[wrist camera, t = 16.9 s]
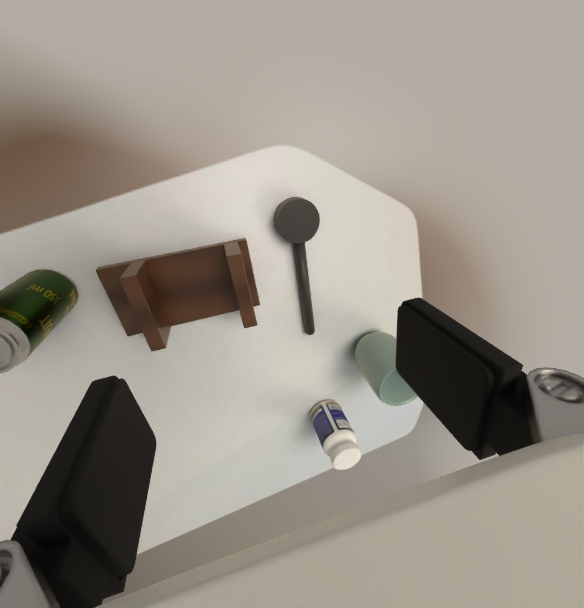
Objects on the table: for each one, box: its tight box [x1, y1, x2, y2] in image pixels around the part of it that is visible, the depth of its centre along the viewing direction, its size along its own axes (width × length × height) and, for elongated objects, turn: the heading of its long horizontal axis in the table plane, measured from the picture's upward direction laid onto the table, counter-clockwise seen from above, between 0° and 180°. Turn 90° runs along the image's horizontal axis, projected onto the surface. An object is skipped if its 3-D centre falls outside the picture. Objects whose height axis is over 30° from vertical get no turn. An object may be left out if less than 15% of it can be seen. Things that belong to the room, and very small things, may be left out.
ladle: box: [274, 197, 320, 335], centre depth 39 cm, size 5×20×2 cm, turn 8°
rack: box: [96, 238, 260, 351], centre depth 34 cm, size 9×17×6 cm, turn 98°
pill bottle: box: [310, 400, 361, 470], centre depth 49 cm, size 6×6×10 cm
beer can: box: [0, 270, 78, 374], centre depth 28 cm, size 5×5×12 cm
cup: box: [355, 332, 418, 406], centre depth 44 cm, size 8×8×10 cm
